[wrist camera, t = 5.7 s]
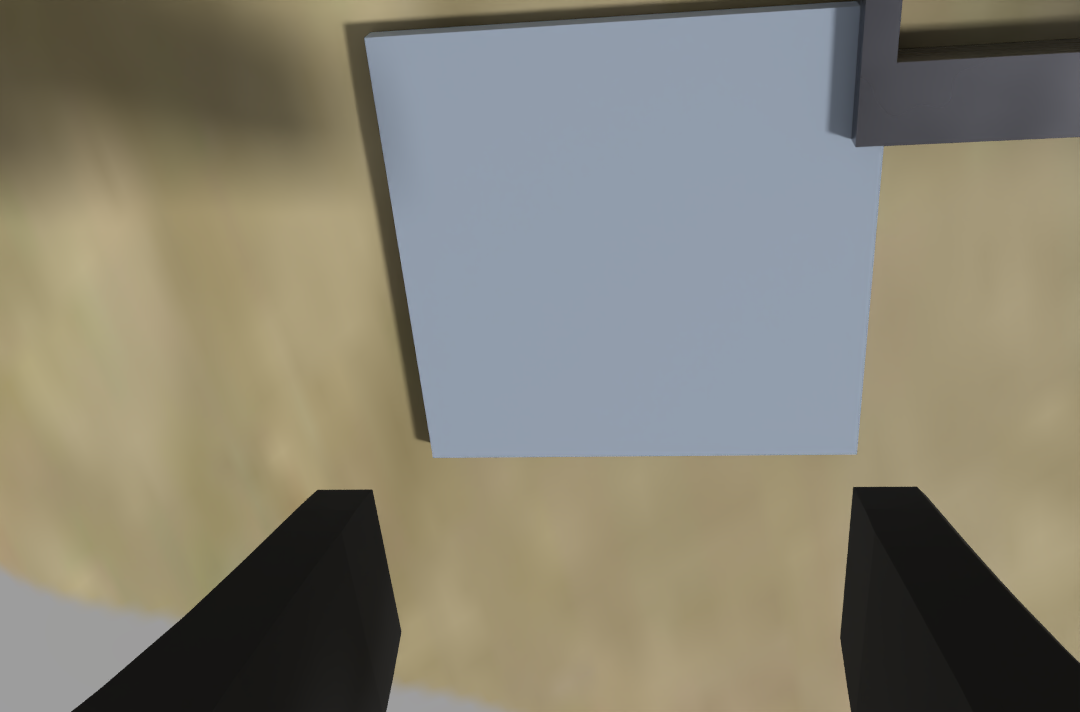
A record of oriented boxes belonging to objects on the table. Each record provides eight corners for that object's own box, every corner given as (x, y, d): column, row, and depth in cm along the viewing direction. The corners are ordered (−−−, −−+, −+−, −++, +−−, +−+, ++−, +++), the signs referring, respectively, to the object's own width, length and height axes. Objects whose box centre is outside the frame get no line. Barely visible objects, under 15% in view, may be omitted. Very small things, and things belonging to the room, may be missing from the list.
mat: (890, -2, 15) (896, 3, 15) (853, 441, 19) (856, 454, 19) (370, 32, 16) (363, 38, 16) (436, 445, 20) (432, 458, 20)
